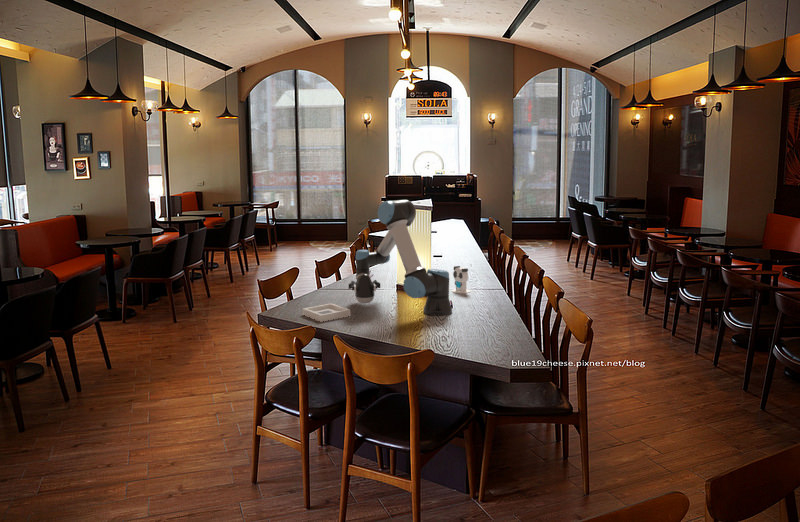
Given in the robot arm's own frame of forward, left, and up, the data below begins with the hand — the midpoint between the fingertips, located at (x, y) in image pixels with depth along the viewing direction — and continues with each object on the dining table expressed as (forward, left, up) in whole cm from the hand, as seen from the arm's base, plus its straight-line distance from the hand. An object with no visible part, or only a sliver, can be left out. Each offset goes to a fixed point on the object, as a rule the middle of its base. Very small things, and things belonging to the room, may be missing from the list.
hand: (365, 289), depth 328 cm
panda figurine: (+9, -79, -15) cm, 81 cm away
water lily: (+61, -44, -15) cm, 77 cm away
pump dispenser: (+4, -2, -8) cm, 9 cm away
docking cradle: (+13, +16, -14) cm, 25 cm away
